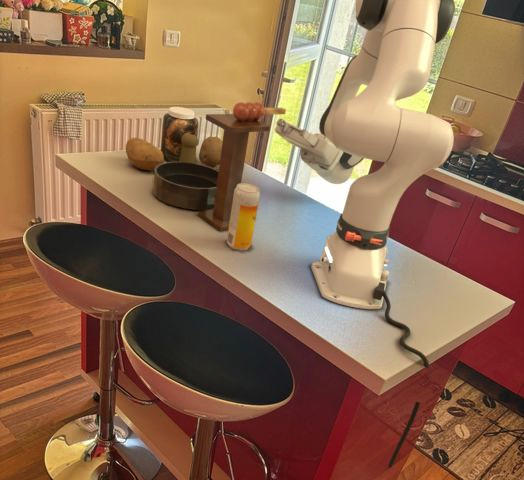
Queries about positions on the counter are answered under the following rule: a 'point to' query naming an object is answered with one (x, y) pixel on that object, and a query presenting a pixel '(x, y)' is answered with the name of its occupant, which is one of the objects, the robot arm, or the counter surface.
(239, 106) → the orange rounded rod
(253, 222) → the beer can
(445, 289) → the counter surface
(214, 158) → the round brown potato
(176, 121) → the jar
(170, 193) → the round cake pan
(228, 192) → the walnut stand
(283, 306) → the counter surface
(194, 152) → the cork
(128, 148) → the potato
